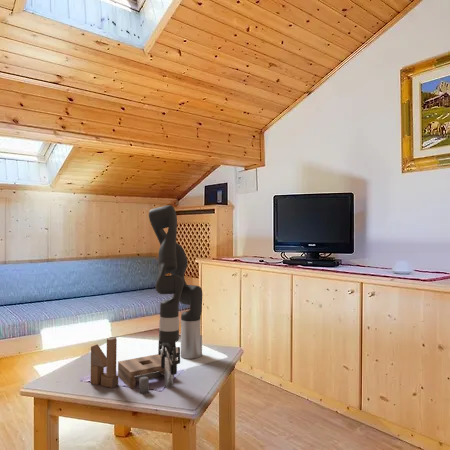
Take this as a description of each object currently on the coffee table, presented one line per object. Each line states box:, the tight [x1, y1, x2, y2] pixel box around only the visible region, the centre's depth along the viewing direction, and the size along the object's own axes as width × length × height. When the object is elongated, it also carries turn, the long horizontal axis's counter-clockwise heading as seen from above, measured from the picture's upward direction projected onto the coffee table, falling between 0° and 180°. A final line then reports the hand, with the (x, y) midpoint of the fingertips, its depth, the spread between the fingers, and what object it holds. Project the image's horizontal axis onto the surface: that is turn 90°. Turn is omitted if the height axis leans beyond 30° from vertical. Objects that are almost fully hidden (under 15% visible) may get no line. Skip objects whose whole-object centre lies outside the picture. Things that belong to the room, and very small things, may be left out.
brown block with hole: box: [117, 353, 175, 389], centre depth 156 cm, size 18×14×6 cm
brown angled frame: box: [90, 336, 119, 389], centre depth 149 cm, size 4×11×18 cm, turn 65°
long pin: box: [164, 356, 174, 389], centre depth 147 cm, size 3×3×11 cm
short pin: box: [139, 376, 150, 395], centre depth 141 cm, size 3×3×5 cm
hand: (168, 371), depth 147 cm, fingers open, 8 cm apart
